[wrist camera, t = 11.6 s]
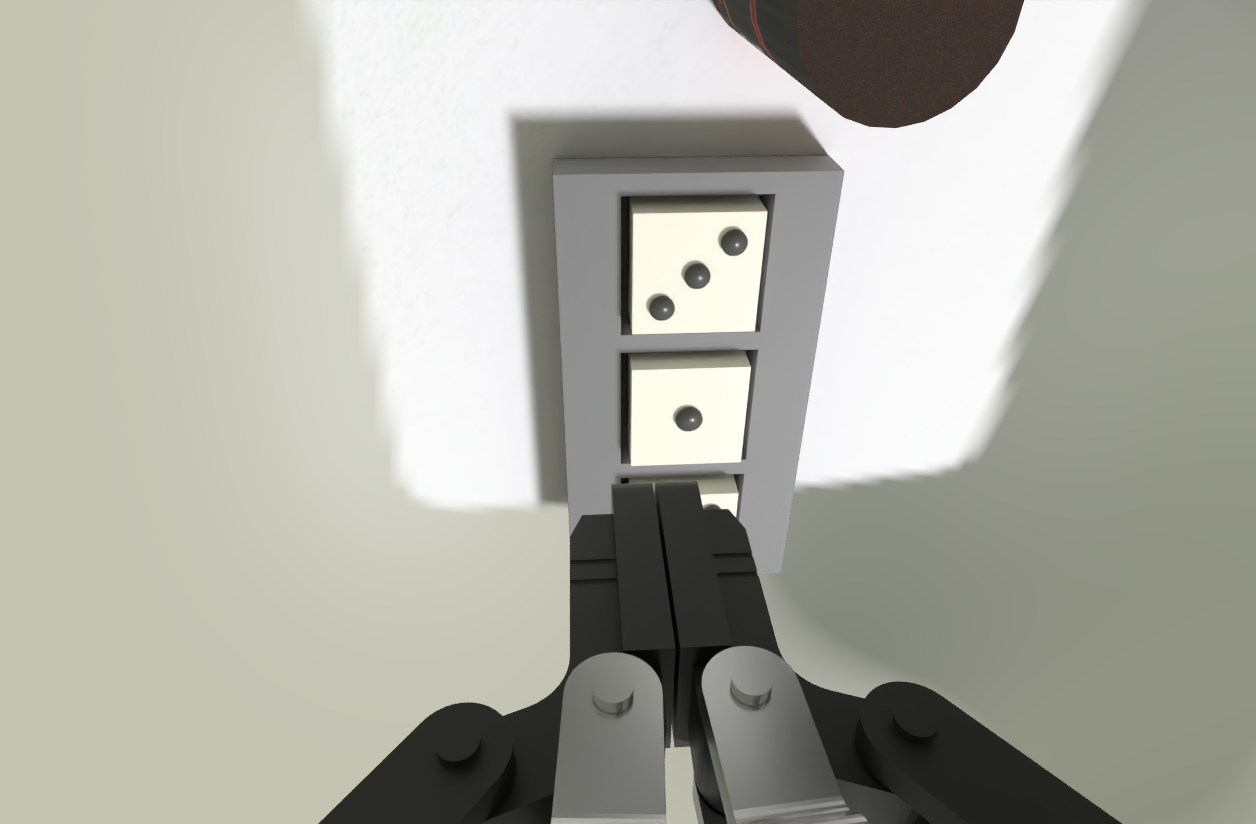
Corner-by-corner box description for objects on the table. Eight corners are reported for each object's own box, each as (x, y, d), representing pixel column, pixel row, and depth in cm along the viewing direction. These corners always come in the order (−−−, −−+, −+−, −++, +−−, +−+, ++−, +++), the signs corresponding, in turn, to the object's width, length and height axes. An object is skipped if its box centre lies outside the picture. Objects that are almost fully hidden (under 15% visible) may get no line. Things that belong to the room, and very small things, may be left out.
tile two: (730, 465, 46) (739, 495, 43) (723, 542, 49) (730, 573, 47) (628, 469, 45) (631, 499, 43) (627, 546, 48) (630, 577, 46)
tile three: (756, 193, 37) (768, 213, 35) (745, 308, 40) (755, 333, 38) (629, 195, 37) (633, 215, 34) (628, 311, 40) (632, 336, 38)
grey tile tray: (828, 155, 37) (844, 170, 35) (771, 545, 51) (780, 573, 49) (553, 158, 36) (552, 174, 34) (571, 553, 50) (571, 582, 48)
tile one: (741, 343, 41) (751, 368, 39) (732, 435, 45) (741, 464, 42) (628, 346, 41) (632, 372, 39) (628, 439, 44) (631, 468, 42)
